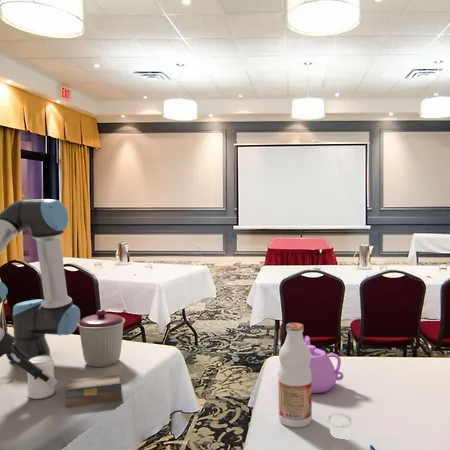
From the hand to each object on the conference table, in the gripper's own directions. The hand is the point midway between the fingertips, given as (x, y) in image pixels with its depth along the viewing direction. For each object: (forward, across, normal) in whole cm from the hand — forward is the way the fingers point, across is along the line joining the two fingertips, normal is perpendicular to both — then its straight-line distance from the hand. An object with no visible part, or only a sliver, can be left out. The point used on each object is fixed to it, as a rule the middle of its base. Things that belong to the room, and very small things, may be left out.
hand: (52, 381), depth 156 cm
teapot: (+57, +40, +51) cm, 87 cm away
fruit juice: (+42, +58, +36) cm, 80 cm away
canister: (+19, -19, +13) cm, 30 cm away
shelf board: (+11, +8, +5) cm, 14 cm away
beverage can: (0, 0, -6) cm, 6 cm away
